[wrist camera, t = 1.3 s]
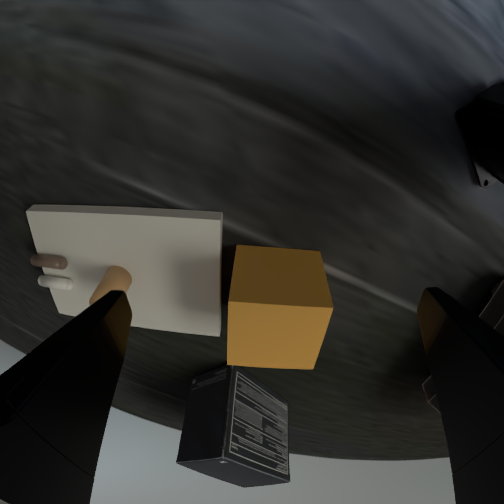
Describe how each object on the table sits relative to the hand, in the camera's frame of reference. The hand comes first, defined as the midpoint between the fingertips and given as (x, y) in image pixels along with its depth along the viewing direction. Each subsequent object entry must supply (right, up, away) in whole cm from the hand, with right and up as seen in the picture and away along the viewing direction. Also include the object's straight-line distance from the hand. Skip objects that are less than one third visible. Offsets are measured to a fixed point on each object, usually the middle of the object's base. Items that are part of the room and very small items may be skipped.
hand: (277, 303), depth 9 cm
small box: (-2, -14, +25) cm, 29 cm away
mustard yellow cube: (+1, -1, +16) cm, 16 cm away
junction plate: (-11, 0, +16) cm, 19 cm away
